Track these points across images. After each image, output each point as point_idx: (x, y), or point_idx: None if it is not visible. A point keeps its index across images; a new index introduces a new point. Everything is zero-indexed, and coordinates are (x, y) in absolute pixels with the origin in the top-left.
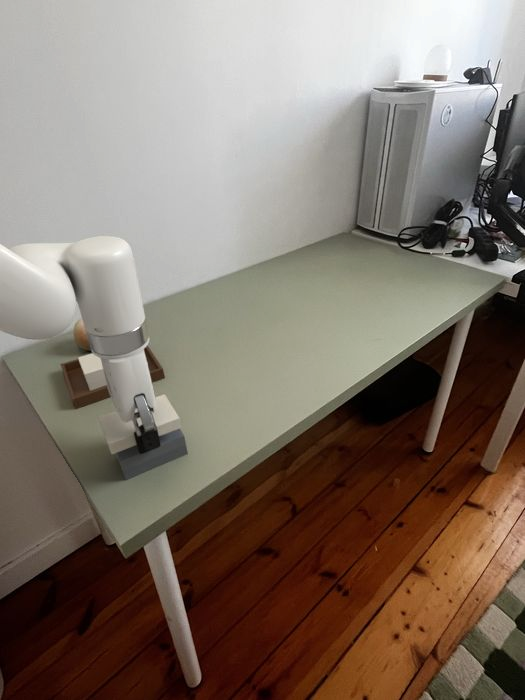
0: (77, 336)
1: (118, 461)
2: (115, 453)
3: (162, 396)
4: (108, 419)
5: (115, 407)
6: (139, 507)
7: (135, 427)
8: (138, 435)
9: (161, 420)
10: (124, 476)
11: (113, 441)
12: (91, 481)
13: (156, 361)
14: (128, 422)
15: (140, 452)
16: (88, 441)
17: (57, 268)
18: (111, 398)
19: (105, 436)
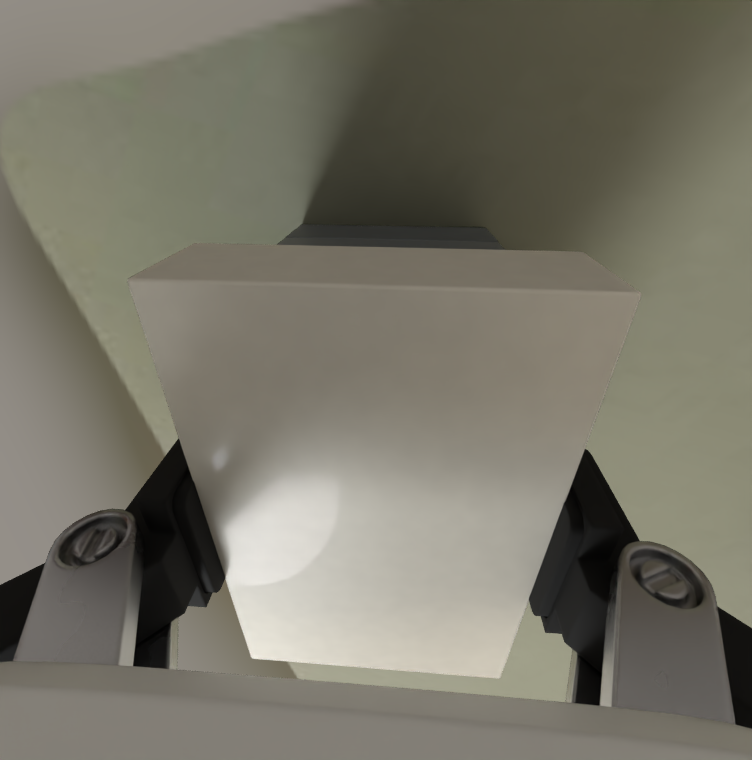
0: None
1: (432, 227)
2: (485, 231)
3: (487, 669)
4: (512, 373)
5: (255, 721)
6: (129, 232)
7: (32, 607)
8: (62, 536)
9: (270, 611)
10: (297, 228)
11: (155, 331)
12: (386, 38)
13: None
14: (356, 486)
15: None
16: (727, 101)
17: None
18: (564, 730)
19: (261, 283)
